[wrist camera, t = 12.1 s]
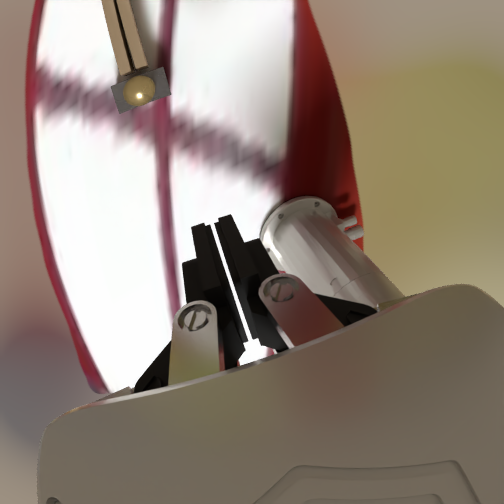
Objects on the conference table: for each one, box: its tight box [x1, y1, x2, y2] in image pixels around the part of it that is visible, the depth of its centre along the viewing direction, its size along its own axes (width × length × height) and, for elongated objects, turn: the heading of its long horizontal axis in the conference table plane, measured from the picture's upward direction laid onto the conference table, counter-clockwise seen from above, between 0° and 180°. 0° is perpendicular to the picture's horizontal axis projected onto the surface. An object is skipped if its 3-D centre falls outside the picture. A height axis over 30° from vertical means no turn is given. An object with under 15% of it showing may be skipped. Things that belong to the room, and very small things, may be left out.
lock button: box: [123, 76, 155, 106], centre depth 20 cm, size 3×3×2 cm
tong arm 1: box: [117, 0, 149, 71], centre depth 16 cm, size 1×16×5 cm, turn 12°
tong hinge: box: [111, 67, 171, 114], centre depth 23 cm, size 5×3×4 cm, turn 101°
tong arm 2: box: [102, 0, 135, 76], centre depth 16 cm, size 1×16×5 cm, turn 11°
